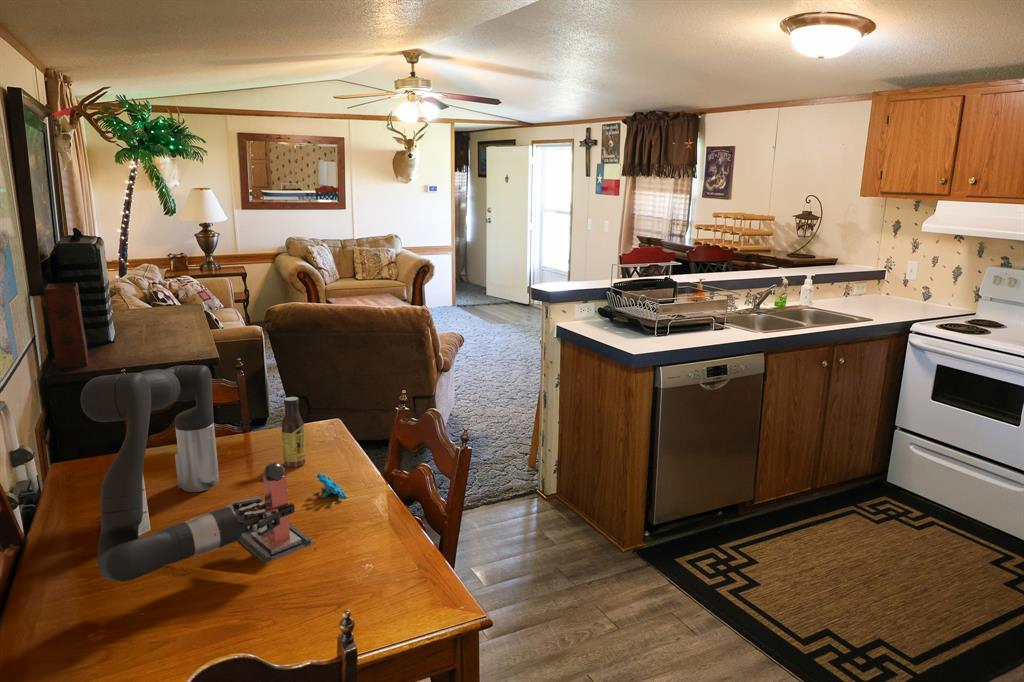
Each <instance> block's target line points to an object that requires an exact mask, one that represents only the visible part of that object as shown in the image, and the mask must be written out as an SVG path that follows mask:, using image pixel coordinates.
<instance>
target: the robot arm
mask: <svg viewBox="0 0 1024 682" xmlns="http://www.w3.org/2000/svg"><path fill="white" fill-rule="evenodd" d="M212 380H213V378H212V372H211V370H210V368H209V367H208V366H206V365H204V364H203V365H199V364H198V365H175V366H172V367H171V366H170V367H168V368H165V369H164V368H163V369H160V368H155V369H149V370H144V371H140V372H128V373H127V372H126V373H120V374H119V373H118V374H108V375H99V376H97V377H94V378H91V379H90V380H89V381H88V382H86V384H85V385H84V387H83V388H82V390H81V393H80V406H81V409H82V411H83V413H84V415H86V417H88V418H89V419H90V420H92V421H94V422H99V423H110V422H111V423H112V422H120V421H127V426H126V433H125V438H124V440H123V443H122V444H121V447H120V449H119V451H118V452H117V454H116V456H115V458H114V459H113V461H112V463H111V464H110V466H109V468H108V469H107V471H106V473H105V474H104V477H103V479H102V481H101V482H102V483H101V486H100V487H101V488H100V523H101V524H100V525H101V527H100V532H99V541H98V550H97V566H98V568H97V569H98V571H99V572H100V574H101V576H102V578H105V579H106V580H107V581H113V582H121V583H123V582H125V583H126V582H129V581H132V580H136V579H139V578H140V577H143V576H146V575H149V574H150V573H153V572H155V571H156V570H159V569H161V568H163V567H165V566H168V565H171V564H175V563H178V562H180V561H183V560H186V559H189V558H192V557H195V556H199V555H202V554H207V553H210V552H212V551H215V550H218V549H220V548H222V547H225V546H229V545H231V544H233V543H234V544H235V543H236V542H239V541H238V540H239V538H240V536H241V534H242V533H246V532H251V531H253V530H254V531H257V532H258V535H259V536H262V535H264V534H265V533H267V532H268V531H270V530H272V529H273V528H275V527H276V526H278V525H280V518H281V517H284V516H287V515H289V516H290V515H292V514H294V513H295V512H296V510H295V504H293V503H291V502H290V503H288V504H287V505H284V506H281V507H278V508H277V509H272V510H266V507H265V500H263V501H261V499H255V500H249V501H243V502H238V501H236V502H237V503H235V502H233V504H232V503H231V504H232V505H233V509H232V508H230V507H225V506H224V507H222V508H219V509H217V510H213V511H209V512H207V513H204V514H201V515H198V516H195V517H193V518H191V519H188V520H186V521H184V522H181V523H177V524H175V525H172V526H168V527H166V528H163V529H160V530H159V531H157V532H155V533H153V534H149V535H146V536H143V537H139V536H138V528H139V525H140V524H141V522H142V517H143V490H142V481H143V478H144V464H145V457H146V451H147V444H148V436H149V427H150V421H151V420H150V418H151V412H152V411H158V410H163V409H165V408H168V407H170V406H172V405H174V403H175V402H196V403H195V404H196V405H195V406H193V407H192V408H189V409H187V410H184V411H182V412H179V413H178V414H176V416H175V417H174V427H175V436H176V444H177V446H176V447H177V452H176V453H175V455H174V460H175V471H176V478H177V487H178V488H179V489H182V490H183V491H185V492H189V493H199V492H205V491H207V490H211V489H212V488H213V487H215V486H216V485H217V484H219V483H220V478H219V477H220V476H219V463H218V456H217V455H218V453H217V443H216V435H215V434H216V432H215V423H214V420H215V419H214V405H213V404H214V403H213V402H214V401H213V381H212ZM270 514H272V515H270ZM262 515H263V520H262ZM268 515H270V516H269V517H268Z"/></svg>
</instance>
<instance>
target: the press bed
mask: <svg viewBox="0 0 1024 682" xmlns="http://www.w3.org/2000/svg"><path fill="white" fill-rule="evenodd" d="M255 499H261V501H264V500H263V498H262V497H260V496H259V495H254V496H250V497H249V498H245V499H241V500H238V501H235V502H233V503H237V502H243V501H249V500H255ZM233 503H229V504H227V505H224V508H225V507H230V508H232V509H233V505H232V504H233ZM262 520H263V515H262ZM289 529H290V531H291V532H293V533H294V534H295V535H297V536H298V537H299V538H301V543H300V544H298V545H295V546H293V547H290V548H288V549H285V550H282V551H280V552H277V553H275V554H272V555H271V554H270V553H269V552H268V551H267V550H265V549H264V548H263V547H262V546H261V545H260V544H258V543H257V542H256V541H255V540H254V539H252V538H251V533H254V532H255V531H254V530H253V531H251V532H246V533H242V534H241V536H240V538H239V540H238V541H237V542H240V544H242V545H243V546H244V547H245V548H246V549H247V550H248V551H249V552H251V554H253V555H254V556H255V557H256V558H258V559H259V560H260V562H262V563H263V564H267V563H270V562H273V561H275V560H277V559H280V558H283V557H284V556H288V555H290V554H292V553H295V552H297V551H299V550H303V549H305V548H308V547H310V546H312V545H315V544H316V542H315V541H314V540H313V539H311V538H310V536H308V535H307V534H305V533H304V532H302V531H301V530H300V529H298V528H297V527H296V526H294V525H293V524H292V523H290V522H289ZM313 550H314V551H315V550H317V547H315V548H314V549H313Z"/></svg>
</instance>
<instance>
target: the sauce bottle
mask: <svg viewBox="0 0 1024 682" xmlns="http://www.w3.org/2000/svg"><path fill="white" fill-rule="evenodd" d="M299 400H300V399H299V397H297V396H289V397H284V398H283V405H284V416H283V417H282V419H281V444H282V460H283V465H284V466H285V467H287V468H298V467H301V466H303V465H305V463H306V439H305V436H306V435H305V424H304V421H303V418H302V416H301V413H300V410H299V402H300V401H299Z"/></svg>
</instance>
